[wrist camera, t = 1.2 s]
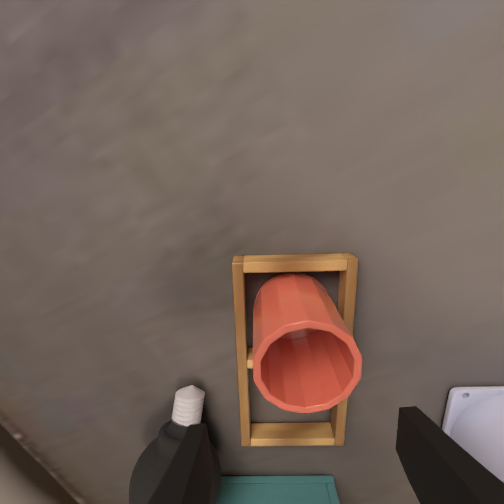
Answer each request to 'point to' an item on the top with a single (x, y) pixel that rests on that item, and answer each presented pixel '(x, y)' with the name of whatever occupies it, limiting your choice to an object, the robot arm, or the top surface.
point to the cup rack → (240, 265)
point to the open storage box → (278, 490)
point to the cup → (302, 346)
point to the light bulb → (171, 448)
